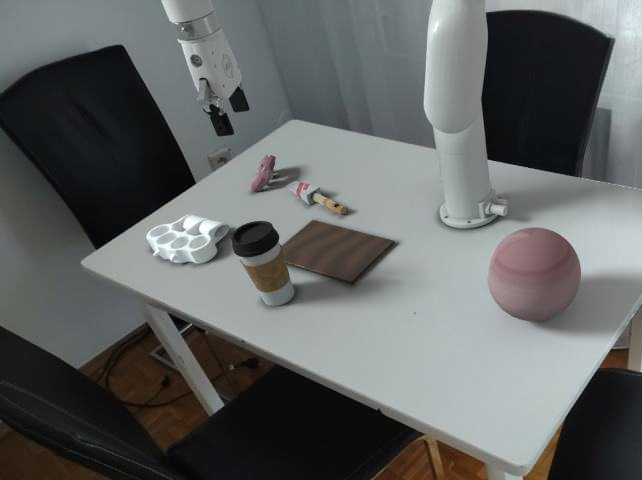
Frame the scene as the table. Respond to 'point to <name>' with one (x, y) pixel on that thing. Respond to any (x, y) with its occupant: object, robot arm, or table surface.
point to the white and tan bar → (314, 196)
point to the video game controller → (264, 173)
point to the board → (334, 251)
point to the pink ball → (534, 274)
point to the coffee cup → (263, 261)
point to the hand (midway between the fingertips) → (234, 122)
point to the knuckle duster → (187, 239)
